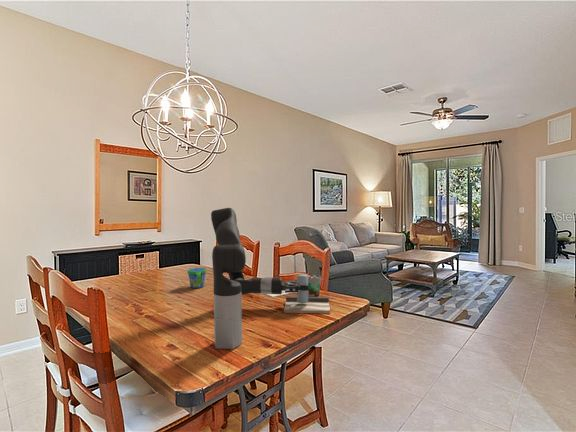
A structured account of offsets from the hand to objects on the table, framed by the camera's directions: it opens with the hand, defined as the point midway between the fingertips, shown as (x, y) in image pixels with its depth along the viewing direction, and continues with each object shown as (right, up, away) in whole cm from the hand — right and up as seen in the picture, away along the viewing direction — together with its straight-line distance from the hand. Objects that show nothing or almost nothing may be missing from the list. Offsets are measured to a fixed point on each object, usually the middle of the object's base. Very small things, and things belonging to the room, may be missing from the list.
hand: (308, 286), depth 142 cm
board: (-1, -10, -1) cm, 10 cm away
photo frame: (-17, -10, +28) cm, 34 cm away
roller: (-3, -7, 0) cm, 7 cm away
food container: (+5, -9, +19) cm, 22 cm away
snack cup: (-62, -9, +38) cm, 73 cm away
